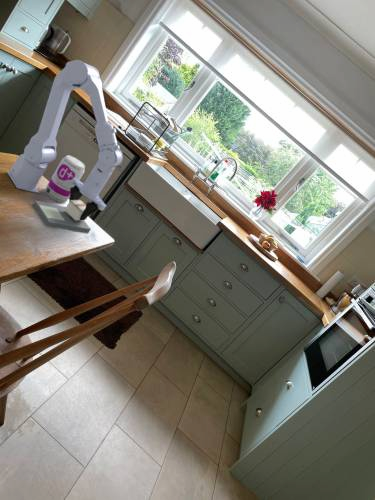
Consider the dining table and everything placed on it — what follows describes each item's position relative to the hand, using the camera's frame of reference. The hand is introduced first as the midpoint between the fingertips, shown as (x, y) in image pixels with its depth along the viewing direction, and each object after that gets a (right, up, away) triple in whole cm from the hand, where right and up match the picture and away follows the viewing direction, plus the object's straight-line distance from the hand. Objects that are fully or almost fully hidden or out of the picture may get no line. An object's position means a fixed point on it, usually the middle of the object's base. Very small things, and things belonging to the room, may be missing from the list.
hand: (75, 213), depth 127 cm
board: (-4, -2, -2) cm, 5 cm away
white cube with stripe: (0, 0, 0) cm, 0 cm away
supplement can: (-10, +7, +8) cm, 14 cm away
